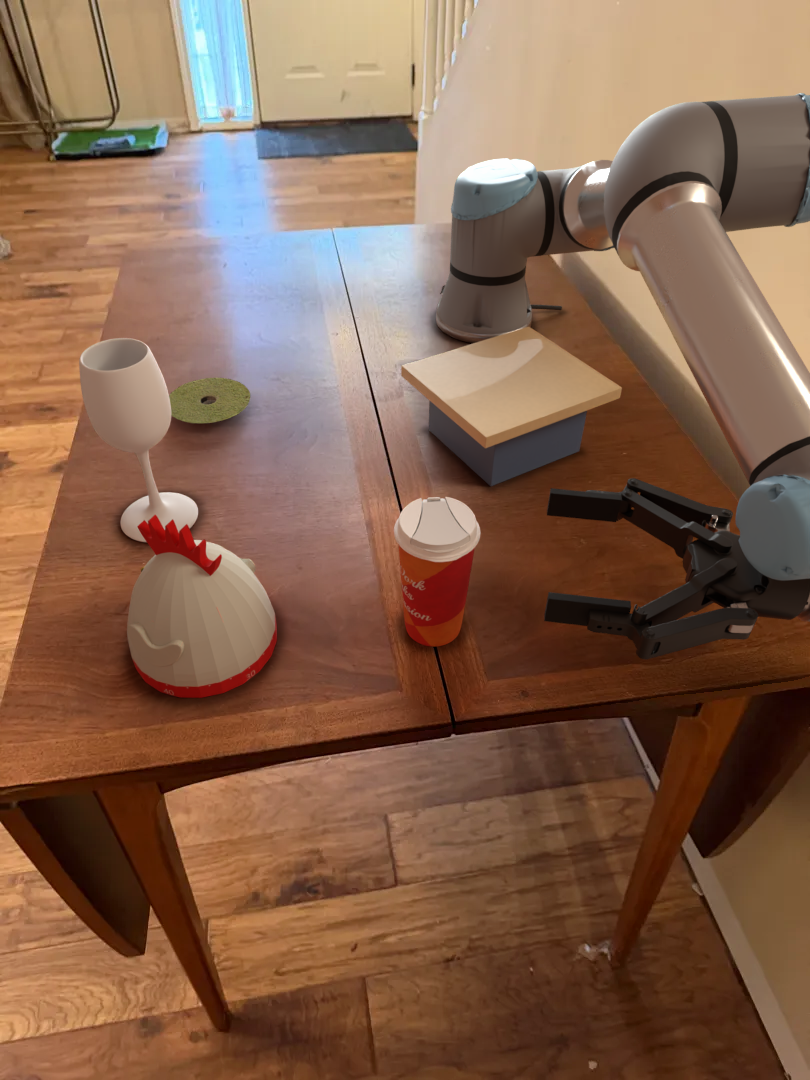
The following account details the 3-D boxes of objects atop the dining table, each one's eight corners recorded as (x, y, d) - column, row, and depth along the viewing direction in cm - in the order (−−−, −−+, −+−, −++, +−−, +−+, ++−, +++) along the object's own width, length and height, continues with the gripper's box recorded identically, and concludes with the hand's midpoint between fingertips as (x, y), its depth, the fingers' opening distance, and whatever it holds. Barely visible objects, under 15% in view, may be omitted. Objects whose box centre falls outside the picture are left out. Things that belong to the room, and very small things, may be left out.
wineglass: (212, 503, 91) (177, 340, 77) (172, 550, 85) (127, 384, 71) (148, 487, 93) (103, 326, 79) (105, 533, 87) (48, 368, 73)
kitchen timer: (192, 572, 83) (162, 459, 73) (303, 614, 78) (288, 500, 68) (102, 666, 73) (54, 551, 63) (222, 719, 69) (192, 605, 59)
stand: (521, 387, 110) (528, 326, 104) (607, 452, 99) (622, 387, 93) (400, 429, 103) (401, 365, 96) (480, 504, 91) (486, 437, 85)
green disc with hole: (269, 410, 106) (267, 397, 104) (201, 445, 100) (198, 432, 98) (218, 380, 111) (216, 368, 110) (151, 412, 105) (148, 399, 104)
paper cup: (391, 599, 80) (390, 494, 71) (465, 595, 81) (474, 489, 71) (397, 659, 74) (397, 553, 65) (477, 653, 75) (488, 548, 65)
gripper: (818, 725, 59) (539, 690, 62) (758, 516, 78) (544, 495, 80) (857, 663, 54) (551, 628, 57) (783, 455, 73) (554, 434, 75)
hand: (547, 550), depth 68 cm, fingers open, 13 cm apart
